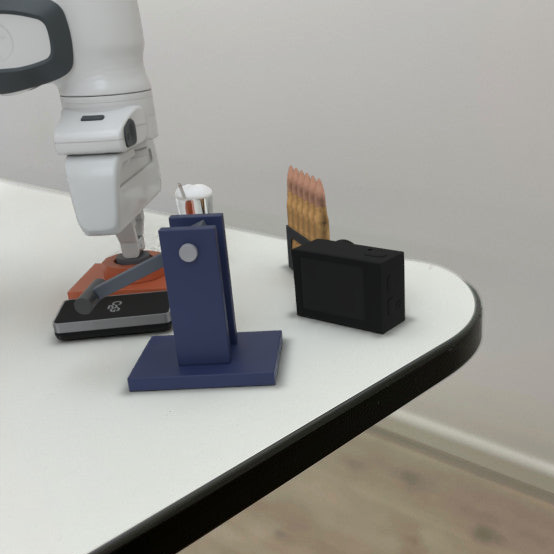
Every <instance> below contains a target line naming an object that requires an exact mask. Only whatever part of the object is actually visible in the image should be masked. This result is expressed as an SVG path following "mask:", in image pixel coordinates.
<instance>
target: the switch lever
mask: <svg viewBox="0 0 554 554" xmlns="http://www.w3.org/2000/svg"><path fill="white" fill-rule="evenodd" d="M192 226H207V224H206V223H205V221H204V220H201V221H199V222H197V223H195V224H193V225H192ZM161 268H163V261H162V254H161V253H159V254H157V255H155V256H153V257H151V258H149V259H147V260H145V261H143V262H141V263H139V264H137V265H136V266H134V267H132V268H130V269H128V270H126V271H124V272H122V273H120V274H118V275H116V276H114V277H112V278H110V279H108V280H107V281H105V280H104V279H101V278H98V279H95V280H94V281H93V282H92V283H91V284H90V285H89V286H88V287H87V289H86V290H85V291H84V292H83V293H82V294H81V295H80V296H79V297H78V298H77V300H76V301H75V303H74V307H75V309H76V311H77V312H78V313H80V314H88V313H90V312H91V311H92V310H93V308H94V307H95V306H96V305H97V303H98V302H99V301H100V300H101V299H102V298H104V297H106V296H108V295H110V294H112V293H114V292H116V291H118V290H120V289H122V288H124V287H126V286H128V285H129V284H131V283H133V282H135V281H137V280H139V279H141V278H143V277H145V276H147V275H149V274H151V273H153V272H155V271H157V270H159V269H161Z"/></svg>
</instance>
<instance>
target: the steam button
mask: <svg viewBox="0 0 554 554" xmlns="http://www.w3.org/2000/svg"><path fill="white" fill-rule="evenodd" d="M144 250H145V249H144ZM144 250H143V251H142V252H141V254H140V255H139V256H138V257H137V258H124V257H123V255H122V252H119V253H120V254H119V253H117V254H118V255H117V256H116V261H117V264H120V265H134V264H139V263H141V262H143V261H145V260H147V259H149V258H151V257H150V253H149V252H148V251H144Z"/></svg>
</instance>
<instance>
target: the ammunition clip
mask: <svg viewBox="0 0 554 554" xmlns="http://www.w3.org/2000/svg"><path fill="white" fill-rule="evenodd" d="M316 179H317V180H316ZM286 187H287V188H286V191H287V192H286V196H287V197H286V216H287V224H286V225H285V233H286V244H287V245H286V246H287V248H286V249H287V261H288V262H287V263H288V268H290V269H291V270H292V271H293V261H292V249H293V248H296V247H298V246H301V245H303V244H306V243H308V242H310V241H313V240H315V239H325V240H331V235H330V234H331V233H330V220H329V215H328V211H327V204H326V203H327V199H326V194H325V193H326V192H325V189H324V184H323V182H322V180H321V179H320V178H316V177H315V176H314V175H311V176H310V174H309V173H308V172H305V173H304V171H303V170H302V169H300V170H299V169H298V168H297V167H293V165H289V167H288V169H287V177H286Z"/></svg>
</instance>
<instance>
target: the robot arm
mask: <svg viewBox="0 0 554 554" xmlns="http://www.w3.org/2000/svg"><path fill="white" fill-rule="evenodd" d="M144 36H145V35H144V30H143V23H142V18H141V13H140V8H139V3H138V0H0V97H12V96H17V95H21V94H24V93H26V92H29V91H33V90H36V89H37V88H40V87H41V86H43V85H49V84H53V85H55V86H56V88H57V89H58V93H59V99H60V104H61V108H62V109H61V111H60V118H59V121H58V124H57V125H56V127H55V129H54V131H53V133H52V134H53V136H52V138H53V143H54V144H53V145H54V149H55V152H56V154H57V155H59V156H66V157H65V159H64V174H65V179H66V183H67V187H68V192H69V196H70V200H71V203H72V207H73V211H74V214H75V219H76V221H77V224H78V226H79V227H80V229H81V231H82V232H83V234H84V235H85V236H87V237H104V236H106V237H107V236H116V238H117V240H118V243H119V245H120V249H121V253H122V255H123V257H124V258H137V257H138V256H139V255H140V254H141V252H142V251H143V250H146V242H145V236H144V234H145V233H144V232H145V231H144V230H145V213H144V212H145V211H144V209H145V208H147V206H148V205H149V204H150V203H152V201H153V200H154V199H155V198H156V197H157V196H158V195H159V194H160V193H161V192H162V176H161V169H160V165H159V159H158V154H157V149H156V144H155V141H154V139H156V138H157V137H158V136H159V130H158V123H157V116H156V108H155V103H154V96H153V90H152V85H151V81H150V79H149V77H148V74H147V72H146V68H145V63H144V51H145V37H144Z"/></svg>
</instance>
